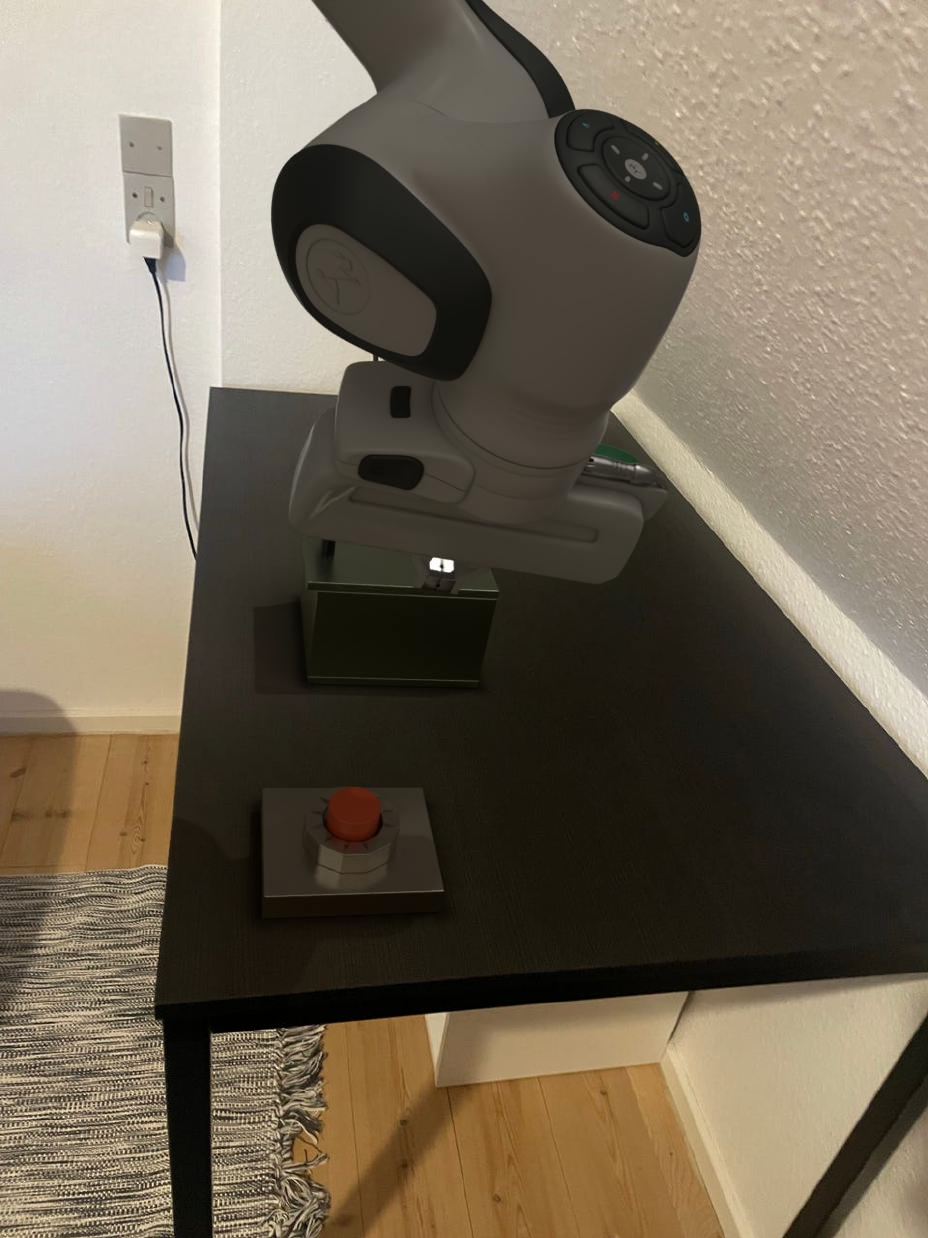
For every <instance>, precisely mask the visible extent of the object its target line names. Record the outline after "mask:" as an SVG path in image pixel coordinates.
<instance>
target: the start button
mask: <svg viewBox="0 0 928 1238" xmlns="http://www.w3.org/2000/svg"><path fill="white" fill-rule="evenodd" d="M346 787H347V788H343V789H340V790H338V791H337V792H335V793H334V794H333V795H332V796H331V798H330V800H329V804H328V812H327V819H326V823H327V827H328V829H329V830H330V832H331V833H332V834H333V835H334V836H336V837H337V838H339V839H342V840H345V841H350V842H358V841H363V840H366V839H368V838H370V837H371V836H372V835H373V834H374V833H375V832H376V830H377V828H378V823H379V817H380V811H381V805H380V802H379V800H378V798H377V797H376V796H375V795H374V794H373V793H372V792H370V791H368V790H366V789H363V788H364V787H363V788H359V787H360V786H346Z"/></svg>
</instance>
